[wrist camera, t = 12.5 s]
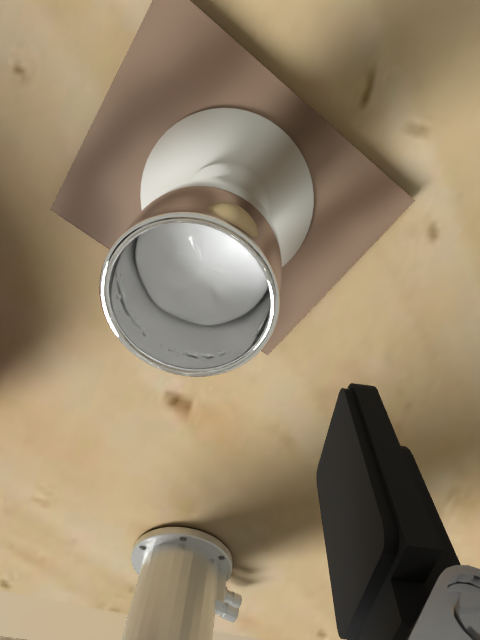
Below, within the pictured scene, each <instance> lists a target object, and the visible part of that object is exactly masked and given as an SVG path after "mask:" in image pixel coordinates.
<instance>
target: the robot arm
mask: <svg viewBox="0 0 480 640" xmlns="http://www.w3.org/2000/svg"><path fill="white" fill-rule="evenodd" d="M317 488H318V495H319V502H320V509H321V517H322V524H323V531H324V538H325V545H326V552H327V559H328V566H329V574H330V581H331V588H332V595H333V602H334V609H335V616H336V624H337V630H338V634H339V636H340V638H341V639H347V640H480V569H478V568H475V567H472V566H469V565H460V562H459V560H458V558H457V556H456V553H455V551H454V549H453V546H452V544H451V542H450V540H449V537H448V535H447V533H446V530H445V528H444V526H443V523H442V521H441V519H440V517H439V514H438V512H437V510H436V507H435V505H434V503H433V501H432V498H431V496H430V494H429V491H428V489H427V487H426V485H425V482H424V480H423V478H422V475H421V473H420V471H419V469H418V466H417V464H416V462H415V459H414V457H413V455H412V453H411V452H410V450H409V449H408V448H407V447H404V446H400V444H399V441H398V439H397V437H396V434H395V432H394V429H393V427H392V424H391V422H390V420H389V417H388V415H387V412H386V410H385V407H384V405H383V403H382V400H381V398H380V395H379V393H378V390H377V389H376V387H374V386H368V385H361V384H353V383H351V384H350V385H349V386H348V389H344V388H342V389H341V390H340V392H339V395H338V399H337V402H336V405H335V409H334V412H333V416H332V419H331V423H330V426H329V430H328V433H327V437H326V440H325V444H324V447H323V451H322V454H321V458H320V461H319V464H318V468H317ZM131 562H132V565H133V567H134V569H135V571H136V572H137V573H138V575H139V577H138V580H137V584H136V588H135V591H134V595H133V598H132V602H131V606H130V609H129V613H128V617H127V620H126V624H125V628H124V631H123V635H122V639H121V640H212V636H213V627H214V617H215V614H217V615H219V616H220V617H222V618H224V619H226V620H228V621H231V622H234V621H235V620H236V619H237V616H238V613H239V607H240V605H241V602H242V597H241V595H239V594H237V593H234V592H231V591H229V590H227V587H226V581H227V580H228V579H229V578H230V576H231V573H232V556H231V553H230V552H229V550H228V549H227V547H226V546H225V545H224V544H223V543H222V542H221V541H219V540H218V539H216V538H215V537H213V536H211V535H209V534H207V533H205V532H202V531H199V530H196V529H191V528H186V527H164V528H158V529H155V530H152V531H150V532H148V533H146V534H144V535H142V536H141V537H140V538H139V539H138V540H137V541H136V543H135V545H134V548H133V551H132V554H131ZM0 640H25V639H17V638H10V637H2V636H0Z"/></svg>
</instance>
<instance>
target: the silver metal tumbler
mask: <svg viewBox="0 0 480 640" xmlns="http://www.w3.org/2000/svg"><path fill="white" fill-rule="evenodd" d="M269 214H270V202H269V197H268V194H267V191H266V189H265V187H264V185H263V183H262V182H261V180H260V179H259V178H258V177H257V176H256V175H255V174H254V173H253V172H252V171H250V170H249V169H247V168H246V167H244V166H241V165H239V164H235V163H230V162H219V163H214V164H211V165H208V166H206V167H204V168H203V169H201V170H200V171H198V172H197V173H196V174H195V175H194V176H193V177H192V178H191V179H190V181H188V182H184V183H181V184H178V185H176V186H174V187H172V188H170V189H168V190H167V191H165V192H164V193H162V194H161V195H159V196H158V197H156V198H155V199H154V200H152V201H151V202H150V203H149V204H148V205H147V206H146V207H145V208H144V209H143V210H142V211H141V212H140V213H139V214H138V215H137V216H136V218H135V219H134V220H133V221H132V223H131V224H130V225H129V227H128V228H127V229H126V231H125V232H124V234H123V235H122V236H121V237H120V238H119V239H118V240H117V241H116V242H115V243H114V245H113V246H112V248H111V249H110V251H109V253H108V254H107V256H106V259H105V261H104V264H103V267H102V270H101V275H100V286H99V290H100V300H101V305H102V309H103V312H104V315H105V317H106V320H107V322H108V324H109V326H110V328H111V329H112V331H113V332H114V334H115V335H116V337H117V338H118V339H119V340H120V342H121V343H122V344H123V345H124V346H125V347H126V348H127V349H128V350H129V351H130V352H131V353H133V354H134V355H135V356H136V357H138V358H139V359H141V360H142V361H144V362H146V363H147V364H149V365H151V366H153V367H155V368H157V369H160V370H162V371H165V372H169V373H172V374H176V375H182V376H190V377H205V376H213V375H218V374H222V373H226V372H229V371H231V370H234V369H236V368H238V367H240V366H242V365H243V364H245V363H247V362H248V361H250V360H251V359H252V358H253V357H255V356H256V355H257V354H258V353H259V352H260V351H261V350H262V349H263V347H264V346H265V345H266V343H267V342H268V340H269V339H270V337H271V335H272V333H273V331H274V329H275V326H276V323H277V319H278V315H279V307H280V290H281V280H282V256H281V249H280V244H279V238H278V234H277V231H276V228H275V226H274V223H273V221H272V219H271V218H270V216H269Z"/></svg>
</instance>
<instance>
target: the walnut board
mask: <svg viewBox="0 0 480 640" xmlns="http://www.w3.org/2000/svg"><path fill="white" fill-rule="evenodd" d="M219 162H230V163H235V164H239V165H241V166H244V167H246V168H247V169H249V170H250V171H252V172H253V173H254V174H255V175H256V176H257V177H258V178H259V179H260V180H261V182H262V183H263V185H264V187H265V189H266V191H267V194H268V197H269V202H270V214H269V216H270V218H271V219H272V221H273V223H274V226H275V228H276V231H277V234H278V238H279V244H280V249H281V256H282V280H281V290H280V307H279V315H278V319H277V323H276V326H275V329H274V331H273V333H272V335H271V337H270V339H269V340H268V342H267V343H266V345H265V346H264V347H263V349H262V350H261V351H262V352H264V353H265V354H267V355H268V354H269V353H270V352H271V351H272V350H273V349H274V348H275V347H276V346H277V345H278V344H279V343H280V342H281V341H282V340H283V339H284V337H285V336H286V335H287V334H288V333H289V332H290V331H291V330H292V329H293V328H294V327H295V326H296V325H297V324H298V323H299V322H300V321H301V320H302V319H303V318H304V317H305V315H306V314H307V313H308V312H309V311H310V310H311V309H312V308H313V307H314V306H315V305H316V304H317V303H318V302H319V301H320V300H321V299H322V298H323V297H324V296H325V294H326V293H327V292H328V291H329V290H330V289H331V288H332V287H333V286H334V285H335V284H336V283H337V282H338V281H339V280H340V279H341V278H342V277H343V276H344V275H345V273H346V272H347V271H348V270H349V269H350V268H351V267H352V266H353V265H354V264H355V263H356V262H357V261H358V260H359V259H360V258H361V257H362V256H363V255H364V254H365V252H366V251H367V250H368V249H369V248H370V247H371V246H372V245H373V244H374V243H375V242H376V241H377V240H378V239H379V238H380V237H381V236H382V235H383V234H384V233H385V231H386V230H387V229H388V228H389V227H390V226H391V225H392V224H393V223H394V222H395V221H396V220H397V219H398V218H399V217H400V216H401V215H402V214H403V213H404V212H405V211H406V209H407V208H408V207H409V206H410V205H411V204H412V203H413V202H414V201H415V200H414V199H413V198H412V197H411V196H409V195H408V194H407V193H406V192H405V191H404V190H403V189H402V188H400V187H399V186H398V185H397V184H396V183H395V182H394V181H393V180H391V179H390V178H389V177H388V176H387V175H386V174H385V173H384V172H382V171H381V170H380V169H379V168H378V167H377V166H376V165H375V164H373V163H372V162H371V161H370V160H369V159H368V158H367V157H366V156H364V155H363V154H362V153H361V152H360V151H359V150H358V149H357V148H355V147H354V146H353V145H352V144H351V143H350V142H349V141H348V140H346V139H345V138H344V137H343V136H342V135H341V134H340V133H339V132H337V131H336V130H335V129H334V128H333V127H332V126H331V125H330V124H328V123H327V122H326V121H325V120H324V119H323V118H322V117H321V116H319V115H318V114H317V113H316V112H315V111H314V110H313V109H312V108H311V107H309V106H308V105H307V104H306V103H305V102H304V101H303V100H302V99H300V98H299V97H298V96H297V95H296V94H295V93H294V92H293V91H291V90H290V89H289V88H288V87H287V86H286V85H285V84H284V83H282V82H281V81H280V80H279V79H278V78H277V77H276V76H275V75H273V74H272V73H271V72H270V71H269V70H268V69H267V68H266V67H264V66H263V65H262V64H261V63H260V62H259V61H258V60H257V59H255V58H254V57H253V56H252V55H251V54H250V53H249V52H248V51H246V50H245V49H244V48H243V47H242V46H241V45H240V44H239V43H237V42H236V41H235V40H234V39H233V38H232V37H231V36H230V35H228V34H227V33H226V32H225V31H224V30H223V29H222V28H221V27H220V26H218V25H217V24H216V23H215V22H214V21H213V20H212V19H211V18H209V17H208V16H207V15H206V14H205V13H204V12H203V11H202V10H200V9H199V8H198V7H197V6H196V5H195V4H194V3H193V2H191V1H190V0H153V1H152V3H151V5H150V7H149V9H148V11H147V13H146V15H145V17H144V19H143V21H142V23H141V26H140V28H139V30H138V32H137V34H136V36H135V38H134V40H133V42H132V44H131V46H130V48H129V50H128V52H127V54H126V56H125V58H124V60H123V62H122V64H121V66H120V68H119V70H118V72H117V74H116V77H115V79H114V81H113V83H112V85H111V87H110V89H109V91H108V93H107V95H106V97H105V99H104V101H103V103H102V105H101V107H100V109H99V111H98V113H97V115H96V117H95V119H94V121H93V123H92V126H91V128H90V130H89V132H88V134H87V136H86V138H85V140H84V142H83V144H82V146H81V148H80V150H79V152H78V154H77V156H76V158H75V160H74V162H73V164H72V166H71V168H70V170H69V172H68V174H67V177H66V179H65V181H64V183H63V185H62V187H61V189H60V191H59V193H58V195H57V197H56V199H55V201H54V203H53V205H52V207H51V209H50V210H52V211H53V212H55V213H56V214H58V215H59V216H61V217H62V218H64V219H65V220H67V221H68V222H70V223H71V224H72V225H74V226H75V227H77V228H78V229H80V230H81V231H83V232H84V233H86V234H87V235H89V236H90V237H92V238H93V239H95V240H96V241H98V242H99V243H101V244H102V245H104V246H105V247H107V248H108V249H111V248H112V246H113V245H114V243H115V242H116V241H117V240H118V239H119V238H120V237H121V236H122V235H123V234H124V232H125V231H126V229H127V228H128V227H129V225H130V224H131V223H132V221H133V220H134V219H135V218H136V216H137V215H138V214H139V213H140V212H141V211H142V210H143V209H144V208H145V207H146V206H147V205H148V204H149V203H150V202H151V201H152V200H154V199H155V198H156V197H158V196H159V195H161V194H162V193H164V192H165V191H167V190H168V189H170V188H172V187H174V186H176V185H178V184H181V183H184V182H188V181H190V179H191V178H192V177H193V176H194V175H195V174H196V173H197V172H198V171H200V170H201V169H203V168H204V167H206V166H208V165H211V164H214V163H219Z"/></svg>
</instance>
